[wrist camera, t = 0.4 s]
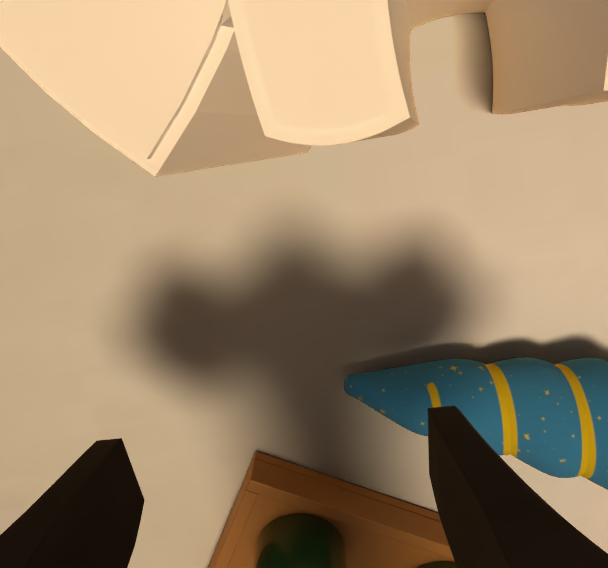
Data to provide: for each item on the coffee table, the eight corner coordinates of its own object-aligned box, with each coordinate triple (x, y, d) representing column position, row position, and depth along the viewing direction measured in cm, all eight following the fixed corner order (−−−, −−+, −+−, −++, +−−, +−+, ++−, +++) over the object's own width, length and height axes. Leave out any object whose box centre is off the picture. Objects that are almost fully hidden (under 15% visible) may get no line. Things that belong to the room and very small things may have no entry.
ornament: (353, 321, 24) (700, 362, 22) (342, 427, 25) (683, 478, 22) (345, 337, 19) (796, 392, 17) (331, 470, 19) (772, 542, 17)
